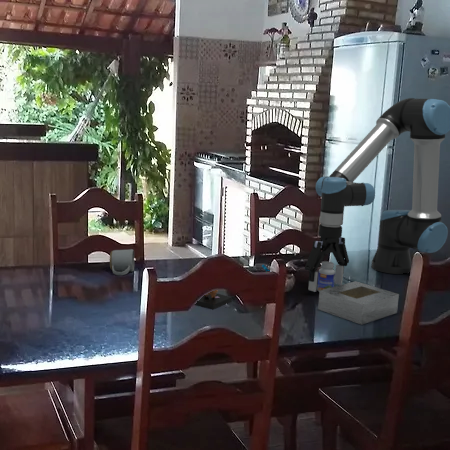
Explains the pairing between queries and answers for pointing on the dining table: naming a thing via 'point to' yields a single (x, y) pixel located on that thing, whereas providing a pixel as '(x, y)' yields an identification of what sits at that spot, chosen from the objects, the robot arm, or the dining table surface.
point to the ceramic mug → (122, 261)
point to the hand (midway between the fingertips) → (325, 287)
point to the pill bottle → (326, 276)
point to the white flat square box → (358, 302)
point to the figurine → (213, 300)
